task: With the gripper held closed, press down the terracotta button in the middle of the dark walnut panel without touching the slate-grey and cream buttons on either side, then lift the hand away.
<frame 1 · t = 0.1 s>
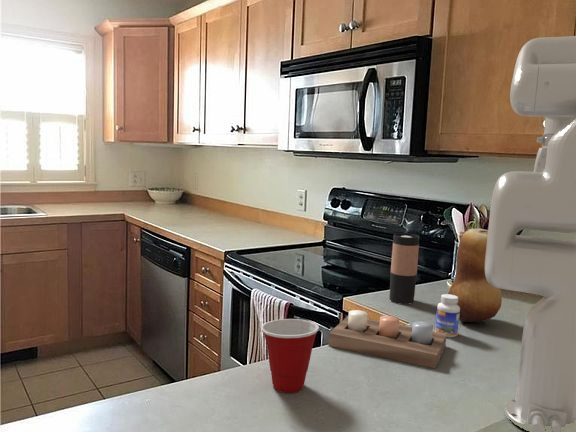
hand: (552, 214, 125), 31 cm above the countertop, tool pointing down, fingers open, 9 cm apart
walnut panel: (387, 345, 119), on the countertop
butternut squash: (472, 321, 139), on the countertop
plastic cup: (287, 386, 98), on the countertop
terracotta button: (389, 327, 119), point 5 cm above the countertop, slide at 0.0 cm
cream button: (357, 321, 122), point 5 cm above the countertop, slide at 0.0 cm
travel mug: (401, 301, 155), on the countertop
pill bottle: (446, 334, 129), on the countertop
slate button: (422, 333, 116), point 4 cm above the countertop, slide at 0.0 cm
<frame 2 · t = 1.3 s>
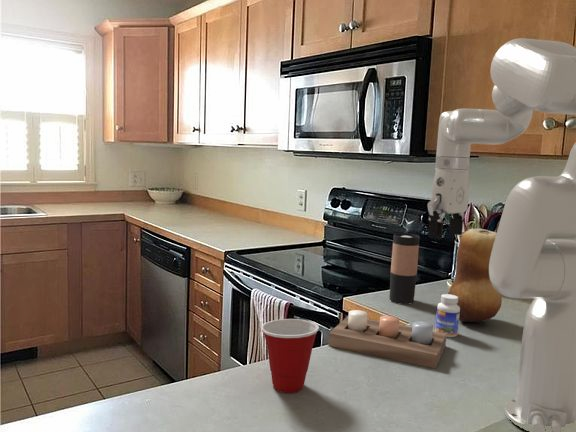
hand: (445, 236, 124), 25 cm above the countertop, tool pointing down, fingers open, 9 cm apart
nothing on the countertop moved.
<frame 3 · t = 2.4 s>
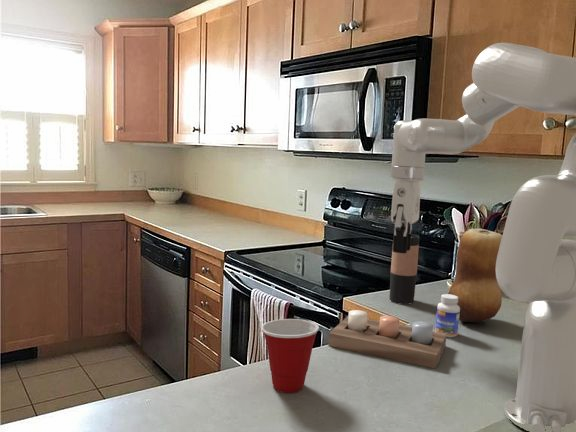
hand: (401, 250, 123), 21 cm above the countertop, tool pointing down, fingers open, 3 cm apart
nothing on the countertop moved.
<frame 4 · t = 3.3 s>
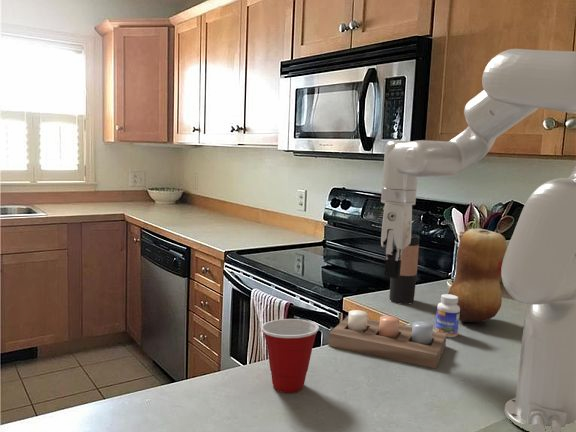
hand: (391, 276, 117), 16 cm above the countertop, tool pointing down, fingers closed
nothing on the countertop moved.
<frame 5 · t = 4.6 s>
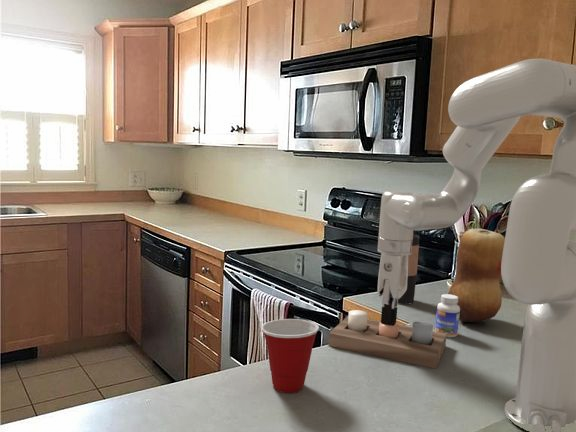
hand: (388, 323, 119), 5 cm above the countertop, tool pointing down, fingers closed
terracotta button: (388, 332, 119), point 3 cm above the countertop, slide at 1.3 cm, touching gripper
everything else where it was.
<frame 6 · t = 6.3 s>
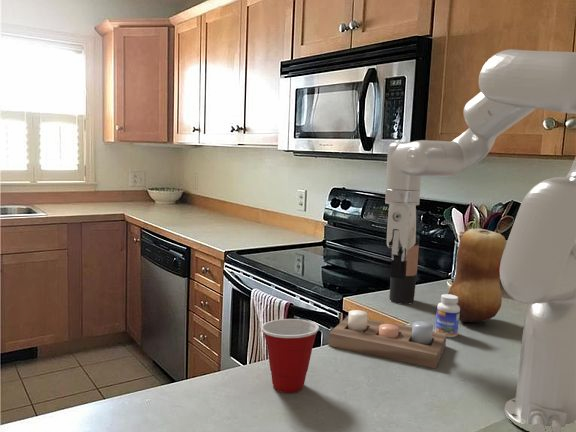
hand: (398, 277, 118), 16 cm above the countertop, tool pointing down, fingers closed
terracotta button: (388, 335, 119), point 3 cm above the countertop, slide at 2.0 cm
everything else where it was.
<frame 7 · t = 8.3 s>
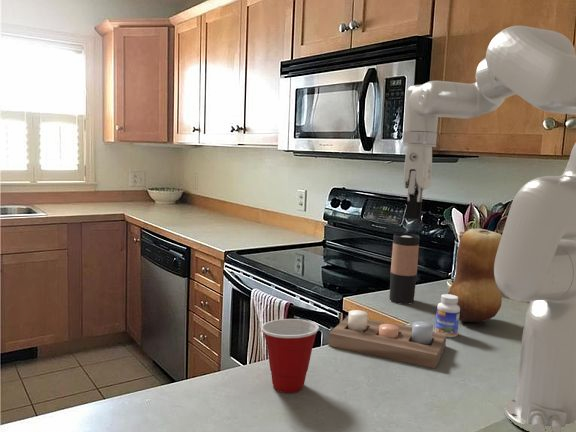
hand: (413, 218, 122), 29 cm above the countertop, tool pointing down, fingers closed
nothing on the countertop moved.
at the end: terracotta button slide at 2.0 cm; slate button slide at 0.0 cm; cream button slide at 0.0 cm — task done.
